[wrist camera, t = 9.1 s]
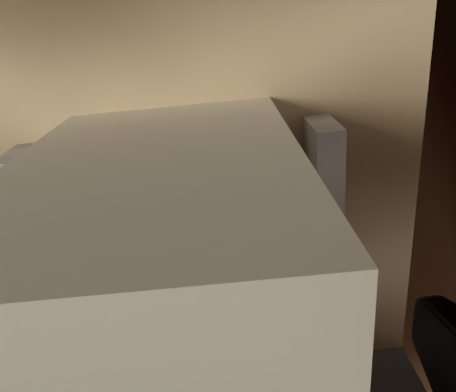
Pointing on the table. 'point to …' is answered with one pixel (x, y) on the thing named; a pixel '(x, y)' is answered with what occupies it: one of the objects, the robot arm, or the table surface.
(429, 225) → the table surface
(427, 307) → the robot arm
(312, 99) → the flat beige panel
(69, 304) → the carton
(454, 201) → the table surface
